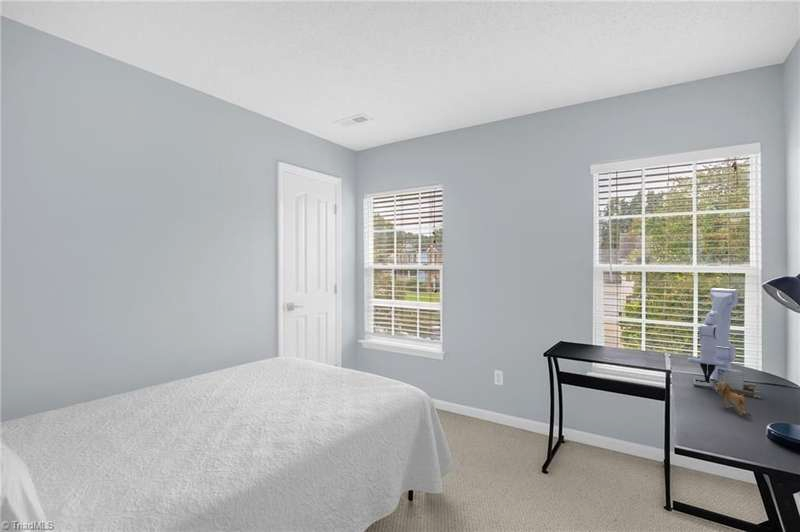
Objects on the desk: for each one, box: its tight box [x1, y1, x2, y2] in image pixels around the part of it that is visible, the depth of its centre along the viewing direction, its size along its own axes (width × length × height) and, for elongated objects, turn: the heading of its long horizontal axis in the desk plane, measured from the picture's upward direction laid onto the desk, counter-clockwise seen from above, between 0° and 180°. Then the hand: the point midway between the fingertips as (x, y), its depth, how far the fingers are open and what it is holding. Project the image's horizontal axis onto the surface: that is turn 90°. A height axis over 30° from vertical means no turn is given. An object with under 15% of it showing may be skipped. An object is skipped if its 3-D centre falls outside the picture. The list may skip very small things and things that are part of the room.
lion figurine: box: [714, 382, 753, 417], centre depth 146 cm, size 15×5×9 cm, turn 0°
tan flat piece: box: [713, 379, 761, 399], centre depth 171 cm, size 14×14×2 cm
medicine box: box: [716, 368, 745, 391], centre depth 172 cm, size 8×4×9 cm, turn 84°
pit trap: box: [692, 378, 715, 390], centre depth 177 cm, size 11×7×1 cm, turn 145°
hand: (707, 380), depth 177 cm, fingers closed
